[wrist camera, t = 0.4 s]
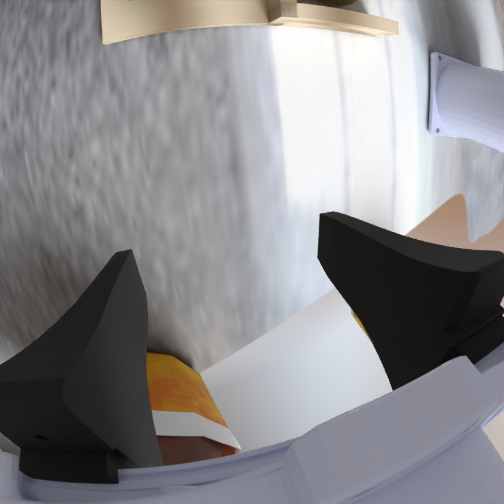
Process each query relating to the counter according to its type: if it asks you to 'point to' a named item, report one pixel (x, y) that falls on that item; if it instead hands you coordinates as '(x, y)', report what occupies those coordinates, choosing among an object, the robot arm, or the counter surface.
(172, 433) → the bucket of meat
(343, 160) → the counter surface
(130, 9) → the cream slotted holder
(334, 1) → the cork
